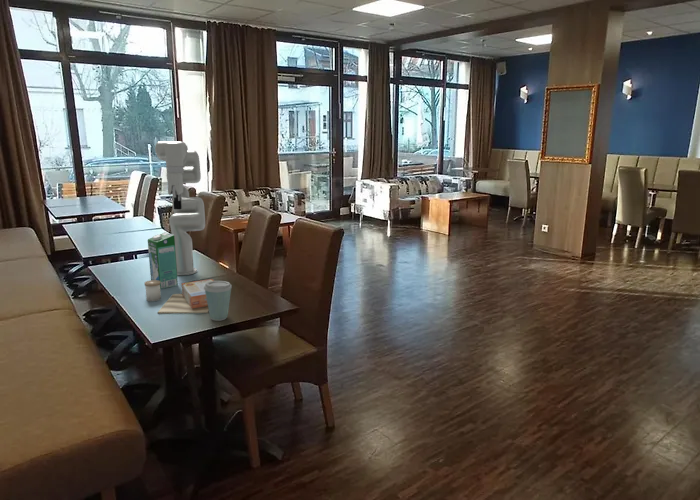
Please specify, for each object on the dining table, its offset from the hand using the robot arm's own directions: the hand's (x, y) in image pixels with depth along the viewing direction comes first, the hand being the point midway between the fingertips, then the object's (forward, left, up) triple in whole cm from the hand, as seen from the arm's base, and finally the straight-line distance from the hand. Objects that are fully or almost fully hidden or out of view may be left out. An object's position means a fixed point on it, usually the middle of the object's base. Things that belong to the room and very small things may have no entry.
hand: (177, 208), depth 231 cm
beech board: (+28, +10, -37) cm, 48 cm away
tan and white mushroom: (+22, -7, -37) cm, 44 cm away
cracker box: (+15, +10, -34) cm, 38 cm away
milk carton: (+2, -8, -37) cm, 38 cm away
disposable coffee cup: (+46, +26, -37) cm, 64 cm away
